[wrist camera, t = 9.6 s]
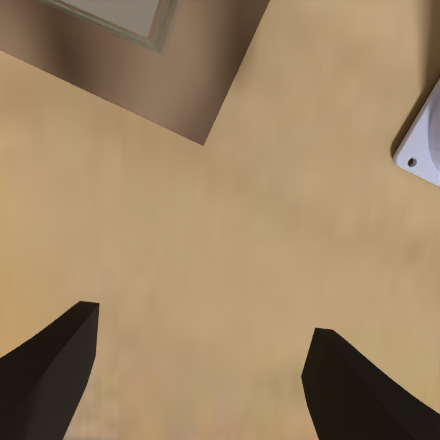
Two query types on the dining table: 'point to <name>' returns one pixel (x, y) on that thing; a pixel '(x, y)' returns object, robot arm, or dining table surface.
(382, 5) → the dining table surface
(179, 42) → the walnut block
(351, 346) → the robot arm
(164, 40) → the steel tin
